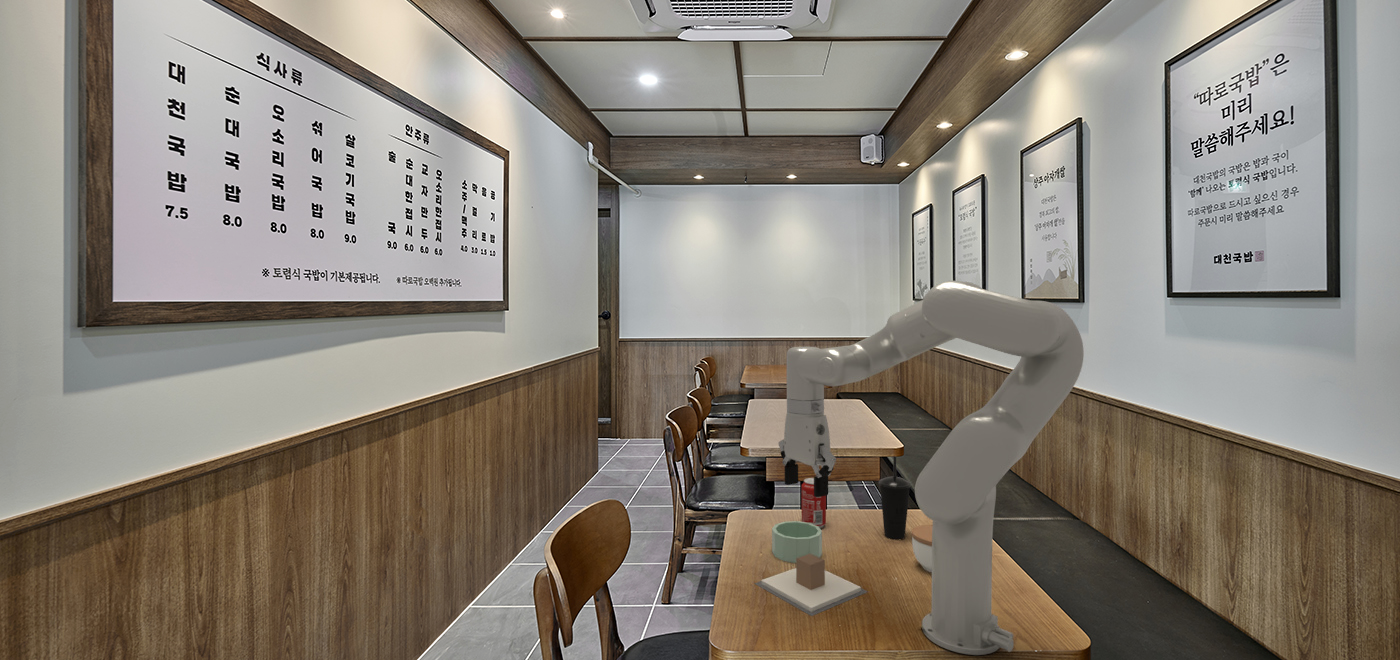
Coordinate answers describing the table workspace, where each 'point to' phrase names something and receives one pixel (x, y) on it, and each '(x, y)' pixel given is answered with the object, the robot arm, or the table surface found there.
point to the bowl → (796, 540)
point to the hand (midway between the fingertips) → (805, 489)
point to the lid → (810, 584)
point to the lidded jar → (923, 545)
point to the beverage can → (812, 505)
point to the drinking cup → (894, 504)
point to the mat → (817, 609)
